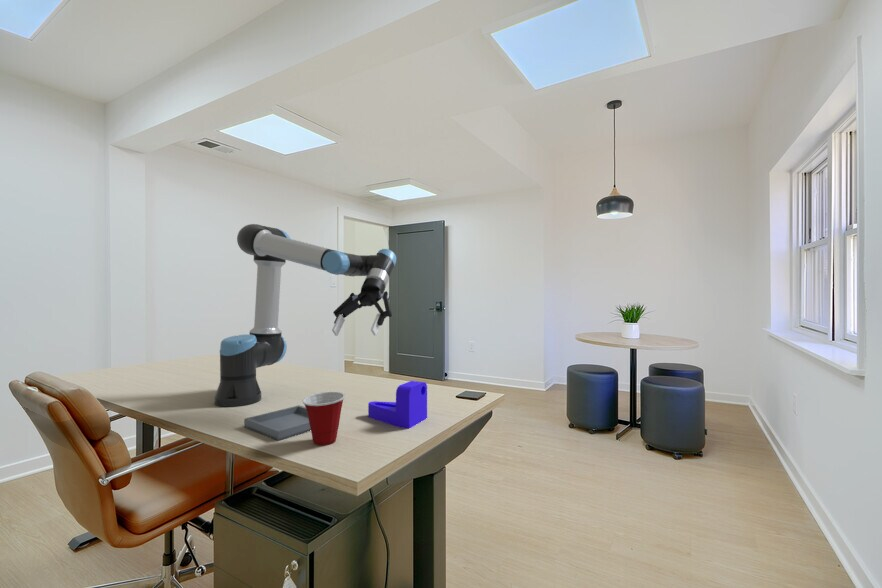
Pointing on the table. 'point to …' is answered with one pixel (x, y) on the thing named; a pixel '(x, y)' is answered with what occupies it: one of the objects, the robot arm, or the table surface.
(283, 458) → the table surface
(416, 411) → the bracket
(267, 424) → the tray
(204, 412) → the table surface
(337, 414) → the plastic cup
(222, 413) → the table surface
